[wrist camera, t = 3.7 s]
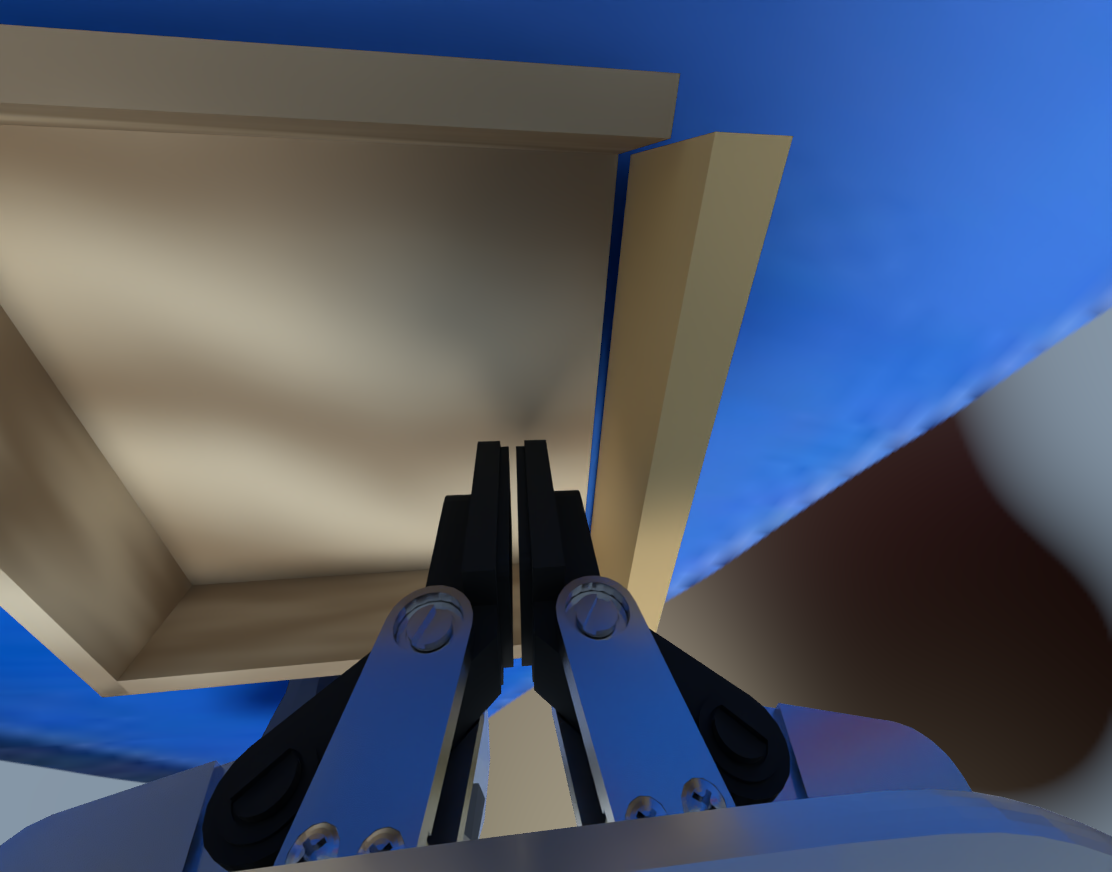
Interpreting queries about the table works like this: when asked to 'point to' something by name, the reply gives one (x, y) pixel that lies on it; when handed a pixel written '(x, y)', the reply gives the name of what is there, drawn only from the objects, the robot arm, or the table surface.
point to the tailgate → (675, 341)
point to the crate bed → (282, 332)
